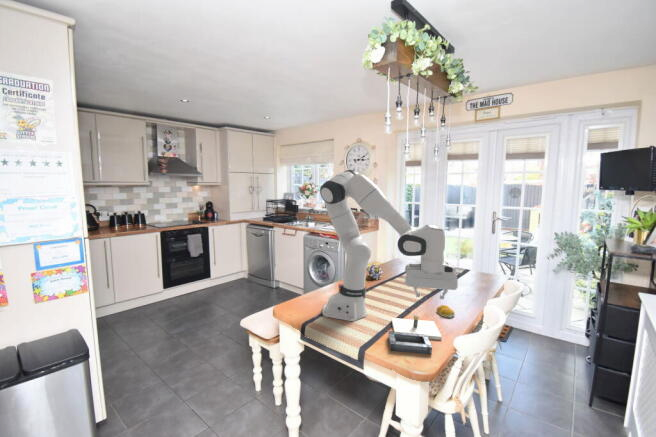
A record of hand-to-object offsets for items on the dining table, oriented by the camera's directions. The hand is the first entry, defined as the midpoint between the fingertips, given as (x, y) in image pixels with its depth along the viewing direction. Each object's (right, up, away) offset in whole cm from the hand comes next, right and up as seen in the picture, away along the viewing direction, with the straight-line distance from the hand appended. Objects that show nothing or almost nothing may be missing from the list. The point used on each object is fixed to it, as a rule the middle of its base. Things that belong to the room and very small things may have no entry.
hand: (429, 297), depth 124 cm
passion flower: (-10, -9, +84) cm, 85 cm away
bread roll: (+19, -17, +33) cm, 42 cm away
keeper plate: (-2, -19, +15) cm, 24 cm away
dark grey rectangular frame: (-8, -20, +1) cm, 22 cm away
